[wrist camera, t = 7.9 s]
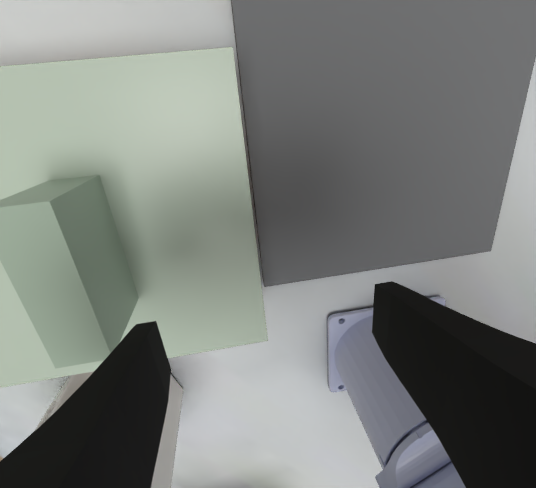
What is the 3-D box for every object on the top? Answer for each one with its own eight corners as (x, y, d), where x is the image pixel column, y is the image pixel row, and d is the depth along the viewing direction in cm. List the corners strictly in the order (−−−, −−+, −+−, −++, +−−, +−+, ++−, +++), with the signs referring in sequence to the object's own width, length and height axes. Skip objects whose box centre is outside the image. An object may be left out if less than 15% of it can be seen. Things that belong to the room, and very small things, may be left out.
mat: (550, -43, 16) (559, -47, 16) (485, 248, 23) (490, 251, 23) (228, -23, 14) (228, -27, 14) (263, 283, 21) (264, 286, 21)
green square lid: (232, 49, 12) (238, 16, 8) (266, 333, 18) (281, 402, 13) (-172, 83, 11) (-429, 65, 6) (7, 378, 16) (-66, 470, 12)
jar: (98, 327, 21) (-33, 560, 10) (200, 370, 24) (184, 589, 13) (43, 409, 23) (-115, 675, 12) (143, 440, 26) (87, 678, 15)
